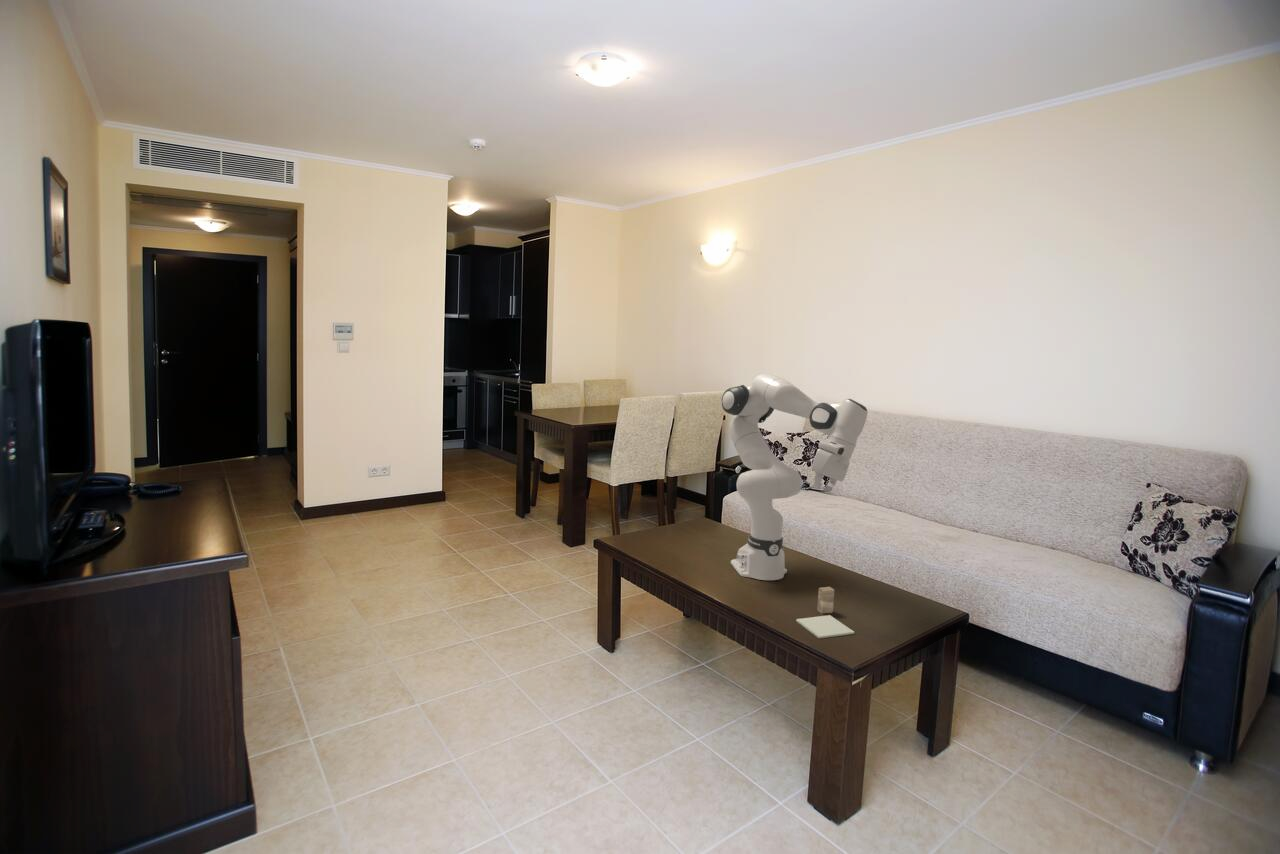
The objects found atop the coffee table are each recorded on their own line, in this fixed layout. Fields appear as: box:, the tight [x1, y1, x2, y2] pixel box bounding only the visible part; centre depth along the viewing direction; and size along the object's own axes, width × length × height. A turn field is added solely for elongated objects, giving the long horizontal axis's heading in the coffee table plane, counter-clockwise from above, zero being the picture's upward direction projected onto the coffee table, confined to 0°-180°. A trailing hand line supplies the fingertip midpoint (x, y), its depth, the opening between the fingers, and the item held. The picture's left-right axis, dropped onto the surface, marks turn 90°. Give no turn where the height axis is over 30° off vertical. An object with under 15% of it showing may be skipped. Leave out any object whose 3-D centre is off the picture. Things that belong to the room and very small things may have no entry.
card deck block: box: [816, 586, 835, 615], centre depth 205 cm, size 3×4×8 cm
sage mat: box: [795, 614, 855, 639], centre depth 194 cm, size 12×12×1 cm
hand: (821, 489), depth 207 cm, fingers open, 8 cm apart
